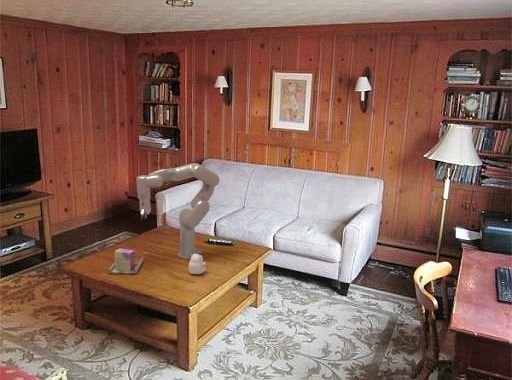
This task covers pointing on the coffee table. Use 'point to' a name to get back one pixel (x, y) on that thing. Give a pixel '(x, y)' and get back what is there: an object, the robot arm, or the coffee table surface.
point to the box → (125, 260)
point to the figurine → (196, 264)
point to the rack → (137, 266)
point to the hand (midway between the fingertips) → (145, 222)
